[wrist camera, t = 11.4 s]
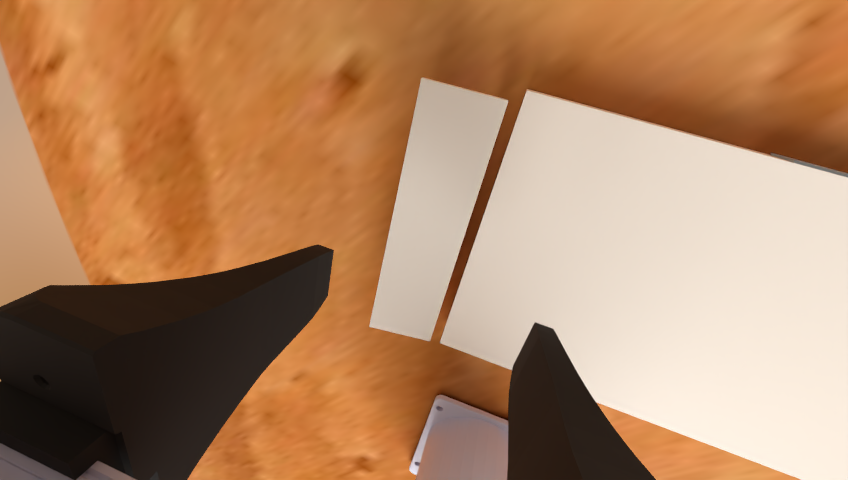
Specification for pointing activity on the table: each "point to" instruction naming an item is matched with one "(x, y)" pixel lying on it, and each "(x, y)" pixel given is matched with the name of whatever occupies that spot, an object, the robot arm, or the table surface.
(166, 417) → the robot arm
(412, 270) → the flap
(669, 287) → the carton
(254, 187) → the table surface
